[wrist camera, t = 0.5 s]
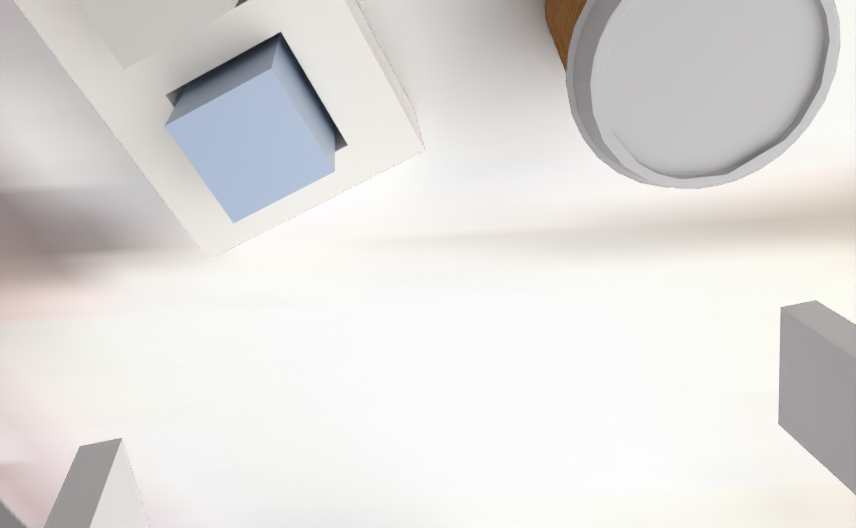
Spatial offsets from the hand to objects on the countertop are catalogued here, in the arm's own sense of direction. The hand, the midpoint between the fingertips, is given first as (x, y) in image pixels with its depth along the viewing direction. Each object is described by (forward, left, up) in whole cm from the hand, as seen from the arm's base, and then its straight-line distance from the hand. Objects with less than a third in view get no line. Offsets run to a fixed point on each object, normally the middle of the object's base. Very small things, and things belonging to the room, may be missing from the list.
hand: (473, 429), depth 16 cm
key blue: (+6, -2, -23) cm, 24 cm away
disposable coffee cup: (-10, +2, -26) cm, 28 cm away
